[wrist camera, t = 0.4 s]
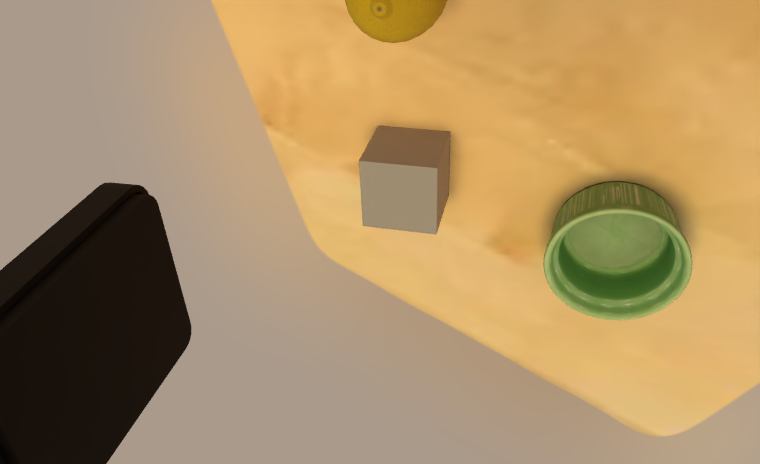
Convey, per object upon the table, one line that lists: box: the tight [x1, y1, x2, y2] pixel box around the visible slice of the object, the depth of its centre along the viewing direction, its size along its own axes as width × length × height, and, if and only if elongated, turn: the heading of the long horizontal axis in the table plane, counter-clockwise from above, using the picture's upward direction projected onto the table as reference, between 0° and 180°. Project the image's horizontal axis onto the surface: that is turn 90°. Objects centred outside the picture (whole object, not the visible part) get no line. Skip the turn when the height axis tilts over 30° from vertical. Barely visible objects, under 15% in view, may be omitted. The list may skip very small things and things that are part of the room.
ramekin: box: [544, 182, 692, 320], centre depth 45 cm, size 9×9×4 cm
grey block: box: [359, 126, 450, 234], centre depth 45 cm, size 5×5×5 cm
